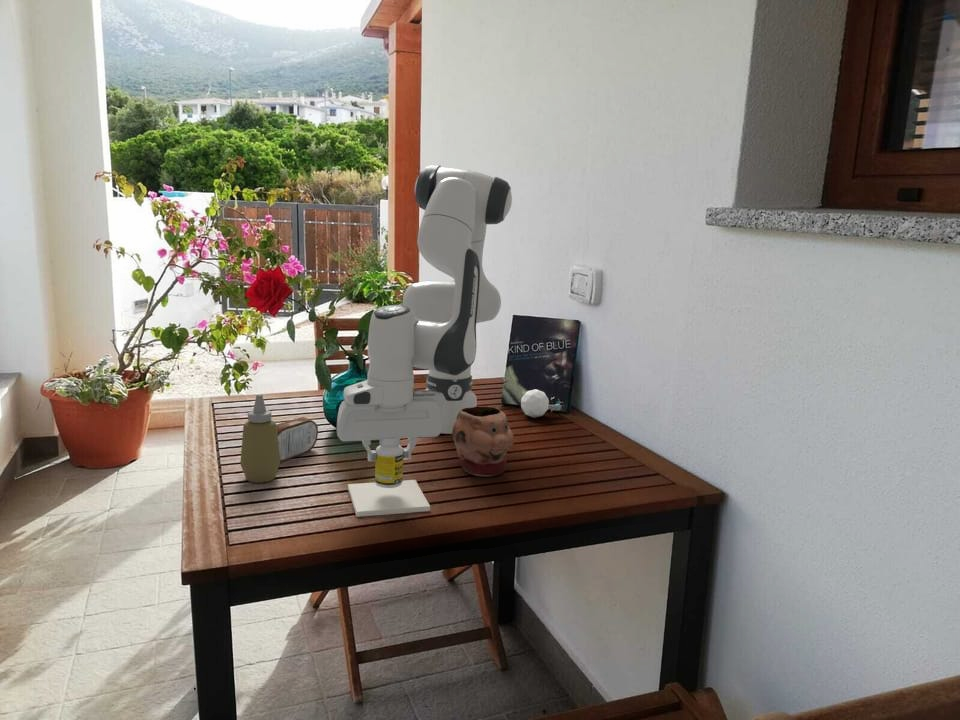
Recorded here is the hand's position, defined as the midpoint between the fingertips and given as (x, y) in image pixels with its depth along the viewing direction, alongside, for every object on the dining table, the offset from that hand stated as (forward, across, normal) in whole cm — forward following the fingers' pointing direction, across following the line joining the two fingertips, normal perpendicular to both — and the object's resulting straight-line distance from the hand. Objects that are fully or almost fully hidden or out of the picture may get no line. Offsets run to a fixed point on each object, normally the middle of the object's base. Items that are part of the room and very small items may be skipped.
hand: (389, 459), depth 140 cm
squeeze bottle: (+8, +24, -16) cm, 30 cm away
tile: (+8, 0, 0) cm, 8 cm away
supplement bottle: (+5, 0, 0) cm, 5 cm away
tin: (+9, +17, -29) cm, 35 cm away
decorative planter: (+9, -23, -14) cm, 28 cm away
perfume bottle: (+9, -53, -52) cm, 75 cm away
